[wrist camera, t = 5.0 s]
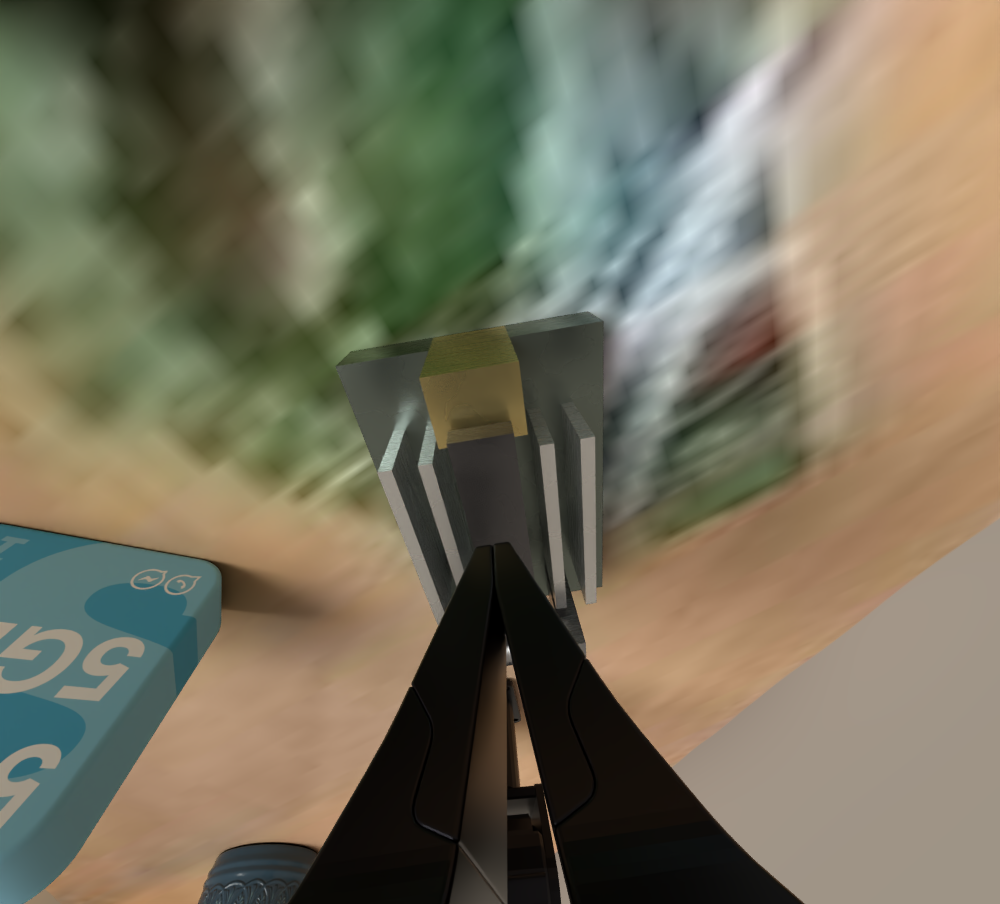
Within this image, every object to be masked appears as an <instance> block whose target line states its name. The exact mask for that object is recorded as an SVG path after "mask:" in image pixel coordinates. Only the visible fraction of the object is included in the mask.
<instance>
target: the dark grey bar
mask: <svg viewBox="0 0 1000 904" xmlns="http://www.w3.org/2000/svg"><path fill="white" fill-rule="evenodd" d="M446 445H447V448H448V452H449V456H450V460H451V463H452V467H453V471H454V475H455V478H456V482H457V486H458V490H459V493H460V497H461V501H462V505H463V508H464V512H465V516H466V520H467V523H468V527H469V531H470V535H471V538H472V542H473V546H474V549H475V548H476V547H477V546H483V545H492V546H493V545H494V544H495V543H501V542H510V543H511V545H512V546H513V548H514V549H515V551H516V552H517V554H518V555H519V557H520V558H521V560H522V561H523V563H524V564H525V566H526V567H527V569H528V570H529V572H530V573H531V575H532V576H533V578H534V571H533V564H532V557H531V550H530V543H529V536H528V529H527V522H526V515H525V508H524V501H523V494H522V487H521V480H520V473H519V466H518V459H517V452H516V445H515V438H514V432H513V427H512V423H511V421H506V422H500V423H494V424H488V425H482V426H476V427H470V428H464V429H458V430H452V431H448V433H447V444H446ZM534 579H535V578H534ZM509 665H513V663H512V659H511V654H510V650H509V646H508V642H507V638H506V666H509Z"/></svg>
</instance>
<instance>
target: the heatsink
mask: <svg viewBox="0 0 1000 904" xmlns="http://www.w3.org/2000/svg"><path fill="white" fill-rule="evenodd" d="M336 369H337V372H338V374H339V377H340V379H341V382H342V384H343V387H344V389H345V392H346V394H347V397H348V399H349V402H350V404H351V407H352V409H353V412H354V414H355V417H356V419H357V422H358V424H359V427H360V429H361V432H362V434H363V437H364V440H365V442H366V445H367V447H368V450H369V452H370V455H371V457H372V460H373V462H374V465H375V467H376V470H377V473H378V476H379V478H380V481H381V483H382V486H383V488H384V491H385V493H386V496H387V498H388V501H389V504H390V506H391V509H392V511H393V514H394V516H395V519H396V521H397V524H398V526H399V529H400V531H401V534H402V536H403V539H404V541H405V544H406V546H407V549H408V551H409V554H410V556H411V559H412V561H413V564H414V566H415V569H416V571H417V574H418V576H419V579H420V581H421V584H422V586H423V589H424V592H425V594H426V597H427V599H428V602H429V604H430V607H431V609H432V612H433V614H434V617H435V619H436V622H437V624H438V625H439V623H440V621H441V619H442V617H443V615H444V613H445V610H446V608H447V606H448V604H449V602H450V600H451V598H452V596H453V593H454V591H455V589H456V587H457V585H458V583H459V581H460V578H461V576H462V574H463V572H464V570H465V568H466V566H467V563H468V561H469V559H470V557H471V555H472V553H473V551H474V546H473V542H472V538H471V535H470V531H469V527H468V523H467V520H466V516H465V512H464V508H463V505H462V501H461V497H460V493H459V490H458V486H457V482H456V478H455V475H454V471H453V467H452V463H451V460H450V456H449V452H448V448H447V445H446V444H447V433H448V431H452V430H458V429H464V428H470V427H476V426H482V425H488V424H494V423H500V422H506V421H511V423H512V427H513V432H514V438H515V445H516V452H517V459H518V466H519V473H520V480H521V487H522V494H523V501H524V508H525V515H526V522H527V529H528V536H529V543H530V550H531V557H532V564H533V571H534V578H535V581H536V582H537V584H538V585H539V587H540V588H541V590H542V591H543V593H544V594H545V596H546V595H549V599H550V603H551V605H552V606H553V608H554V609H555V611H556V612H557V614H558V615H559V617H560V618H561V620H562V621H563V623H564V624H565V626H566V627H567V629H568V630H569V632H570V633H571V635H572V636H573V638H574V639H575V641H576V642H577V644H578V645H579V647H580V648H581V650H582V651H583V653H584V654H585V656H586V643H585V639H584V636H583V632H582V629H581V625H580V622H579V618H578V615H577V611H576V608H575V604H574V601H573V598H572V594H571V591H577V590H581V591H582V594H583V597H584V600H585V603H586V604H591V603H596V587H602V522H603V321H602V320H601V319H599V318H597V317H596V316H594V315H593V314H591V313H589V312H582V313H576V314H571V315H565V316H559V317H553V318H547V319H541V320H535V321H529V322H523V323H517V324H511V325H506V326H500V327H494V328H488V329H482V330H476V331H470V332H464V333H458V334H452V335H447V336H441V337H435V338H429V339H423V340H417V341H411V342H405V343H399V344H393V345H387V346H382V347H376V348H370V349H364V350H358V351H352V352H350V353H349V354H348V355H347V356H346V357H345V358H344V359H343V360H342V361H341V362H340V363H339V364H338V365H337V366H336Z"/></svg>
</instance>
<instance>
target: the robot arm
mask: <svg viewBox="0 0 1000 904" xmlns="http://www.w3.org/2000/svg"><path fill="white" fill-rule="evenodd" d="M506 638H507V642H508V646H509V650H510V654H511V659H512V663H513V667H514V671H515V675H516V679H517V683H518V688H519V692H520V696H521V700H522V704H523V708H524V712H525V717H526V721H527V725H528V729H529V733H530V737H531V742H532V746H533V750H534V754H535V758H536V762H537V766H538V771H539V775H540V779H541V783H542V784H534V786H526V787H520V779H519V768H518V758H517V747H516V736H515V726H514V723H516V722H519V721H520V720H521V715H520V710H519V706H518V702H517V698H516V694H515V690H514V686H513V683H512V681H509V680H506ZM543 791H544V792H543ZM544 796H545V798H544ZM545 800H546V803H545ZM546 804H547V808H548V812H549V816H550V820H551V825H552V829H553V833H554V837H555V841H556V845H557V850H558V854H559V857H560V862H561V866H562V870H563V874H564V878H565V883H566V887H567V891H568V895H569V899H570V904H804V903H803V902H802V901H801V900H799V899H798V898H797V897H796V896H795V895H794V894H793V893H792V892H791V891H789V890H788V889H787V888H786V887H785V886H783V885H782V884H781V883H780V882H779V881H778V880H777V879H776V878H774V877H773V876H772V875H771V874H770V873H769V872H768V871H766V870H765V869H764V868H763V867H762V866H761V865H759V864H758V863H757V862H756V861H755V860H754V859H753V858H752V857H751V856H750V855H749V854H748V853H747V852H746V851H745V850H744V849H743V848H742V847H741V846H740V845H739V844H738V843H737V842H736V841H735V840H734V839H733V838H732V837H731V836H730V835H729V834H728V833H727V832H726V831H725V830H724V829H723V827H722V826H721V825H720V824H719V823H718V822H717V821H716V820H715V819H714V818H713V816H712V815H711V814H710V813H709V812H708V811H707V810H706V808H705V807H704V806H703V805H702V804H701V802H700V801H699V800H698V799H697V798H696V797H695V795H694V794H693V793H692V792H691V791H690V790H689V788H688V787H687V786H686V785H685V783H684V782H683V781H682V780H681V779H680V777H679V776H678V775H677V774H676V773H675V771H674V770H673V769H672V768H671V767H670V765H669V764H668V763H667V762H666V761H665V759H664V758H663V757H662V756H661V755H660V753H659V752H658V751H657V750H656V749H655V748H654V746H653V745H652V744H651V743H650V742H649V740H648V739H647V738H646V737H645V736H644V734H643V733H642V732H641V731H640V730H639V728H638V727H637V726H636V724H635V723H634V722H633V721H632V719H631V718H630V717H629V716H628V714H627V713H626V712H625V711H624V709H623V708H622V707H621V706H620V704H619V703H618V702H617V700H616V699H615V697H614V696H613V695H612V693H611V692H610V690H609V689H608V688H607V686H606V685H605V683H604V682H603V681H602V679H601V678H600V676H599V675H598V673H597V672H596V670H595V669H594V667H593V666H592V664H591V663H590V661H589V660H588V659H586V656H585V654H584V653H583V651H582V650H581V648H580V647H579V645H578V644H577V642H576V641H575V639H574V638H573V636H572V635H571V633H570V632H569V630H568V629H567V627H566V626H565V624H564V623H563V621H562V620H561V618H560V617H559V615H558V614H557V612H556V611H555V609H554V608H553V606H552V605H551V603H550V602H549V600H548V599H547V597H546V596H545V594H544V593H543V591H542V590H541V588H540V587H539V585H538V584H537V582H536V581H535V579H534V578H533V576H532V575H531V573H530V572H529V570H528V569H527V567H526V566H525V564H524V563H523V561H522V560H521V558H520V557H519V555H518V554H517V552H516V551H515V549H514V548H513V546H512V545H511V543H510V542H501V543H495V544H494V545H493V546H492V545H483V546H477V547H476V548H475V549H474V551H473V553H472V555H471V557H470V559H469V561H468V563H467V566H466V568H465V570H464V572H463V574H462V576H461V578H460V581H459V583H458V585H457V587H456V589H455V591H454V593H453V596H452V598H451V600H450V602H449V604H448V606H447V608H446V610H445V613H444V615H443V617H442V619H441V621H440V623H439V625H438V628H437V630H436V632H435V634H434V636H433V638H432V640H431V642H430V645H429V647H428V649H427V651H426V653H425V655H424V657H423V660H422V662H421V664H420V666H419V668H418V670H417V672H416V674H415V677H414V679H413V681H412V687H410V688H409V689H408V691H407V693H406V695H405V698H404V700H403V702H402V704H401V706H400V708H399V710H398V712H397V714H396V716H395V718H394V720H393V722H392V724H391V726H390V728H389V730H388V732H387V734H386V736H385V738H384V740H383V742H382V744H381V746H380V747H379V749H378V751H377V753H376V754H375V756H374V758H373V760H372V762H371V763H370V765H369V767H368V769H367V771H366V772H365V774H364V776H363V778H362V779H361V781H360V783H359V784H358V786H357V788H356V790H355V791H354V793H353V795H352V796H351V798H350V800H349V802H348V803H347V805H346V807H345V808H344V810H343V812H342V814H341V815H340V817H339V819H338V820H337V822H336V824H335V826H334V827H333V829H332V831H331V832H330V834H329V836H328V838H327V839H326V841H325V843H324V845H323V846H322V848H321V850H320V851H319V853H318V855H317V857H316V858H315V860H314V862H313V863H312V865H311V867H310V868H309V870H308V872H307V873H306V875H305V877H304V878H303V880H302V882H301V883H300V885H299V886H298V888H297V889H296V891H295V892H294V894H293V895H292V897H291V898H290V900H289V901H288V903H287V904H561V898H560V887H559V879H558V871H557V865H556V859H555V853H554V848H553V842H552V836H551V831H550V825H549V820H548V814H547V809H546Z"/></svg>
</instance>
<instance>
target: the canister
mask: <svg viewBox="0 0 1000 904" xmlns="http://www.w3.org/2000/svg"><path fill="white" fill-rule="evenodd" d="M317 855H318V854H317V853H316V852H314V851H313V850H310V849H307V848H304V847H300V846H294V845H285V844H260V845H250V846H243V847H238V848H234V849H231V850H228V851H225V852H223V853H222V854H220V855H219V856H218V857H217V859H216V861H215V864H214V865H213V867H212V869H211V870H210V871H209V873H208V877H207V880H206V881H205V883H204V886H203V892H202V894H201V897H200V899H199V902H198V904H287V903H288V901H289V900H290V898H291V897H292V895H293V894H294V892H295V891H296V889H297V888H298V886H299V885H300V883H301V882H302V880H303V878H304V877H305V875H306V873H307V872H308V870H309V868H310V867H311V865H312V863H313V862H314V860H315V858H316V857H317Z"/></svg>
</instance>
